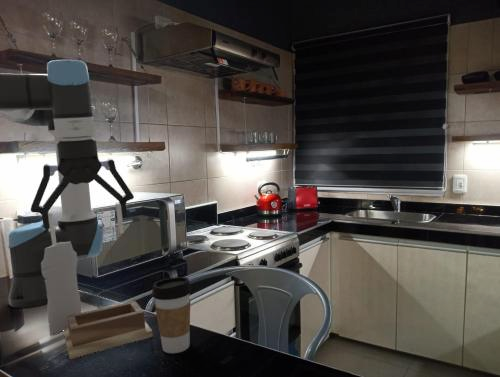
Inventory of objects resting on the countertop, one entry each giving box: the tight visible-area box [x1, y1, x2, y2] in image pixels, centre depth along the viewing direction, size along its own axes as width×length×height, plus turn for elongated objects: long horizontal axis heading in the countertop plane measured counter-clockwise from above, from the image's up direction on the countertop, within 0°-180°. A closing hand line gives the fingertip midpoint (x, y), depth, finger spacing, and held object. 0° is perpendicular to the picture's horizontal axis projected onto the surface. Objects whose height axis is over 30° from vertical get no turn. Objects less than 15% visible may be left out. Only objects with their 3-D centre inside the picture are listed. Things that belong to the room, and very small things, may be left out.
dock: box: [63, 300, 154, 360], centre depth 97 cm, size 14×18×6 cm
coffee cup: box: [151, 276, 192, 354], centre depth 90 cm, size 8×8×15 cm
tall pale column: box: [41, 242, 83, 336], centre depth 103 cm, size 11×4×22 cm, turn 156°
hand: (88, 237), depth 88 cm, fingers open, 13 cm apart
